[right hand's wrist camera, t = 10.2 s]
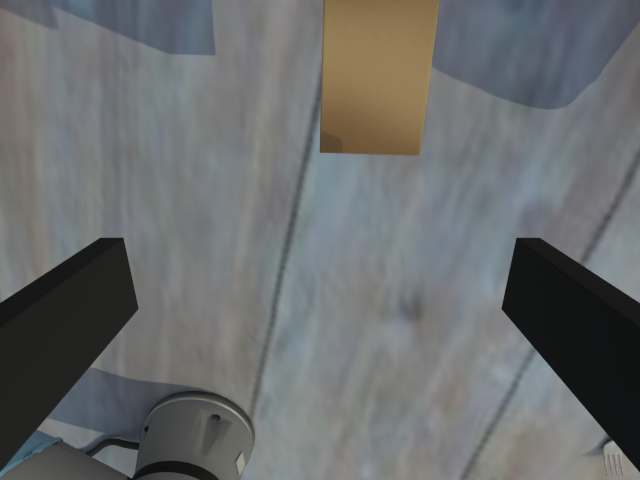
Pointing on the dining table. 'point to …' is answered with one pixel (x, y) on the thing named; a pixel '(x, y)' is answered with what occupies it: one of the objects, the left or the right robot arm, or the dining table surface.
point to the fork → (614, 450)
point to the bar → (376, 75)
